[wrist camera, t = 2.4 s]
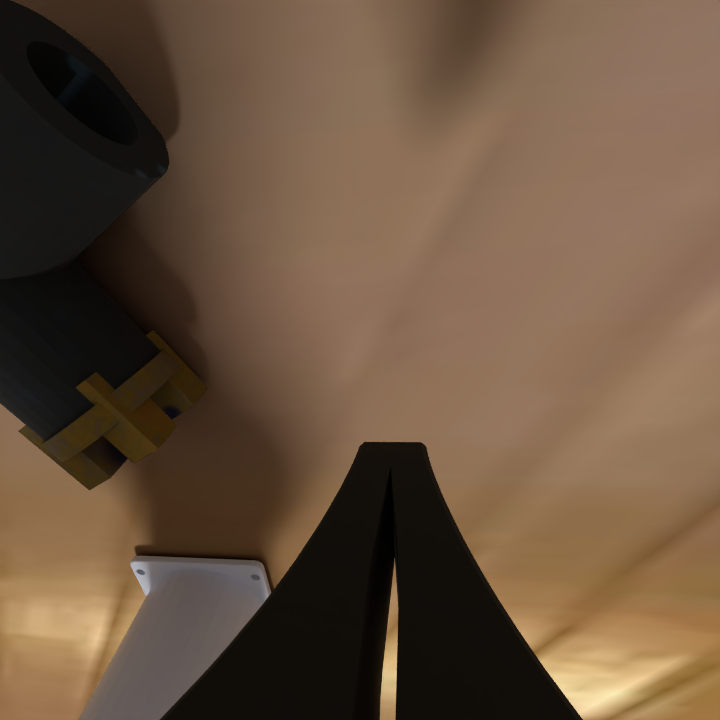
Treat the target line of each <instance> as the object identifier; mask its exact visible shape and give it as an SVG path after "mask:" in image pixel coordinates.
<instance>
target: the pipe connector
mask: <svg viewBox="0 0 720 720" xmlns="http://www.w3.org/2000/svg"><path fill="white" fill-rule="evenodd" d="M168 165H169V158H168V152H167V149H166V145H165V142H164V140H163V138H162V136H161V134H160V132H159V131H158V130H157V129H156V127H155V126H154V125H153V124H152V122H151V121H150V120H149V119H148V117H147V116H146V115H145V113H144V112H143V111H142V110H141V108H140V107H139V106H138V105H137V103H136V102H135V101H134V100H133V98H132V97H131V96H130V95H129V93H128V92H127V91H126V89H125V88H124V87H123V86H122V84H121V83H120V82H119V81H118V79H117V78H116V77H115V76H114V74H113V73H112V72H111V70H110V69H109V68H108V67H107V66H106V65H105V64H104V63H103V62H102V61H101V60H100V59H99V58H98V57H97V56H95V55H94V54H93V53H92V52H91V51H90V50H89V49H87V48H86V47H85V46H84V45H83V44H81V43H80V42H79V41H78V40H76V39H75V38H74V37H72V36H71V35H70V34H68V33H67V32H66V31H65V30H63V29H62V28H60V27H59V26H57V25H56V24H54V23H53V22H51V21H50V20H48V19H47V18H45V17H43V16H41V15H40V14H38V13H36V12H34V11H32V10H31V9H29V8H27V7H25V6H22V5H20V4H18V3H15V2H13V1H10V0H0V403H1V404H2V405H3V406H4V407H5V408H7V409H8V410H9V411H10V412H11V413H13V414H14V415H15V416H16V417H17V418H18V419H20V420H21V421H22V422H23V423H24V424H26V426H24V427H23V428H22V429H20V430H19V432H20V433H21V434H22V435H24V436H25V437H26V438H27V439H28V440H30V441H31V442H32V443H33V444H34V445H36V446H37V447H38V448H39V449H40V450H42V451H43V452H44V453H45V454H46V455H48V456H49V457H50V458H51V459H52V460H54V461H55V462H56V463H57V464H58V465H60V466H61V467H62V468H63V469H64V470H66V471H67V472H68V473H69V474H70V475H72V476H73V477H74V478H75V479H76V480H78V481H79V482H80V483H81V484H82V485H84V486H85V487H86V488H87V489H88V490H91V489H93V488H94V487H96V486H98V485H99V484H101V483H103V482H104V481H106V480H107V479H109V478H111V477H112V476H113V475H114V473H115V472H116V471H117V470H118V469H119V468H120V467H121V466H122V464H123V463H124V462H125V461H126V460H127V459H129V460H130V461H132V462H133V463H136V462H137V461H139V460H141V459H142V458H144V457H146V456H147V455H149V454H150V453H152V452H154V451H155V450H157V449H158V448H159V447H160V446H161V445H162V444H163V442H164V441H165V440H166V439H167V437H168V436H169V435H170V434H171V433H172V431H173V430H174V429H175V428H176V427H177V425H176V424H175V423H174V422H173V421H172V420H171V419H173V418H175V417H176V416H178V415H179V414H181V413H183V412H184V411H186V410H187V409H189V408H191V407H192V406H194V405H195V403H196V402H197V401H198V400H199V398H200V397H201V396H202V395H203V394H204V392H205V391H206V390H207V389H208V388H207V387H206V385H205V384H204V383H203V382H202V381H201V380H200V379H199V378H198V377H197V376H196V375H195V374H194V373H193V372H192V371H191V369H190V368H189V367H188V366H187V365H186V364H185V363H184V362H183V361H182V360H181V359H180V358H179V357H178V356H177V355H176V354H175V352H174V351H173V350H172V349H171V348H170V347H169V346H168V345H167V344H166V343H165V342H164V341H163V340H162V339H161V338H160V337H159V335H158V334H157V333H156V332H155V331H154V330H153V331H151V332H150V333H148V334H147V335H145V334H144V333H143V332H142V330H141V329H140V328H139V327H138V326H137V325H136V324H135V323H134V322H133V321H132V320H131V319H130V318H129V317H128V316H127V315H126V314H125V313H124V312H123V311H122V309H121V308H120V307H119V306H118V305H117V304H116V303H115V302H114V301H113V300H112V299H111V298H110V297H109V296H108V295H107V294H106V293H105V292H104V291H103V290H102V288H101V287H100V286H99V285H98V284H97V283H96V282H95V281H94V280H93V279H92V278H91V277H90V276H89V275H88V274H87V273H86V272H85V271H84V270H83V269H82V267H81V266H80V265H79V264H78V263H77V262H76V261H75V260H74V259H75V258H76V257H77V256H78V255H79V254H80V253H81V252H82V251H83V250H85V249H86V248H87V247H88V246H89V245H90V244H91V243H92V242H93V241H94V240H95V239H96V238H97V237H98V236H99V235H100V234H101V233H102V232H104V231H105V230H106V229H107V228H108V227H109V226H110V225H111V224H112V223H113V222H114V221H115V220H116V219H117V218H118V217H119V216H120V215H121V214H123V213H124V212H125V211H126V210H127V209H128V208H129V207H130V206H131V205H132V204H133V203H134V202H135V201H136V200H137V199H138V198H139V197H140V196H142V195H143V194H144V193H145V192H146V191H147V190H148V189H149V188H150V187H151V186H152V185H153V184H154V183H155V182H156V181H157V180H158V179H159V178H161V177H162V176H163V175H164V173H165V172H166V171H167V169H168ZM167 415H168V416H169V417H170V418H171V419H170V418H169V417H168V416H167Z"/></svg>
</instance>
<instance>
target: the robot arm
mask: <svg viewBox="0 0 720 720" xmlns="http://www.w3.org/2000/svg"><path fill="white" fill-rule="evenodd" d="M394 559H395V566H396V580H397V594H398V608H399V610H398V651H397V689H396V720H583V719H582V718H581V717H580V715H579V714H578V713H577V711H576V710H575V709H574V707H573V706H572V705H571V703H570V702H569V701H568V699H567V698H566V697H565V695H564V694H563V693H562V691H561V690H560V689H559V687H558V686H557V684H556V683H555V682H554V680H553V679H552V678H551V676H550V675H549V674H548V672H547V671H546V670H545V668H544V667H543V665H542V664H541V663H540V661H539V660H538V658H537V657H536V655H535V654H534V652H533V651H532V649H531V648H530V647H529V645H528V644H527V642H526V641H525V639H524V638H523V636H522V635H521V633H520V632H519V630H518V629H517V628H516V626H515V624H514V623H513V621H512V620H511V618H510V617H509V615H508V614H507V612H506V610H505V609H504V607H503V606H502V604H501V603H500V601H499V600H498V598H497V596H496V595H495V593H494V591H493V590H492V588H491V587H490V585H489V583H488V581H487V580H486V578H485V576H484V575H483V573H482V571H481V570H480V568H479V566H478V564H477V562H476V561H475V559H474V557H473V555H472V554H471V552H470V550H469V548H468V546H467V544H466V543H465V541H464V539H463V537H462V535H461V533H460V531H459V529H458V527H457V525H456V523H455V521H454V519H453V517H452V515H451V513H450V510H449V508H448V506H447V504H446V502H445V500H444V498H443V495H442V493H441V491H440V488H439V486H438V483H437V481H436V478H435V475H434V473H433V470H432V467H431V464H430V461H429V457H428V453H427V448H426V446H425V445H424V444H423V443H421V442H364V443H363V444H362V445H360V447H359V449H358V452H357V455H356V457H355V459H354V462H353V464H352V466H351V468H350V470H349V472H348V474H347V476H346V478H345V480H344V482H343V484H342V486H341V488H340V490H339V491H338V493H337V495H336V497H335V498H334V500H333V502H332V503H331V505H330V507H329V509H328V510H327V512H326V514H325V516H324V517H323V519H322V521H321V522H320V524H319V525H318V527H317V528H316V530H315V531H314V533H313V534H312V536H311V538H310V539H309V541H308V542H307V544H306V545H305V547H304V548H303V550H302V551H301V553H300V554H299V556H298V557H297V559H296V560H295V561H294V563H293V564H292V566H291V567H290V568H289V570H288V571H287V573H286V574H285V575H284V577H283V578H282V579H281V581H280V582H279V584H278V585H277V586H276V588H275V589H274V590H273V591H272V593H271V590H270V586H269V583H268V579H267V575H266V572H265V568H264V566H263V564H262V563H261V562H259V561H255V560H235V559H210V558H186V557H162V556H135V557H134V558H133V559H132V561H131V563H130V565H131V567H132V569H133V571H134V573H135V575H136V577H137V579H138V581H139V583H140V585H141V587H142V589H143V591H144V593H145V595H146V599H145V600H144V602H143V604H142V606H141V608H140V609H139V611H138V613H137V615H136V617H135V618H134V620H133V622H132V624H131V626H130V627H129V629H128V631H127V633H126V635H125V636H124V638H123V640H122V642H121V644H120V645H119V647H118V649H117V651H116V653H115V654H114V656H113V658H112V660H111V662H110V663H109V665H108V667H107V669H106V671H105V672H104V674H103V676H102V678H101V680H100V681H99V683H98V685H97V687H96V689H95V690H94V692H93V694H92V696H91V698H90V699H89V701H88V703H87V705H86V707H85V708H84V710H83V712H82V714H81V716H80V717H79V719H78V720H380V696H381V682H382V669H383V660H384V651H385V642H386V633H387V623H388V614H389V605H390V596H391V587H392V577H393V568H394Z"/></svg>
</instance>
